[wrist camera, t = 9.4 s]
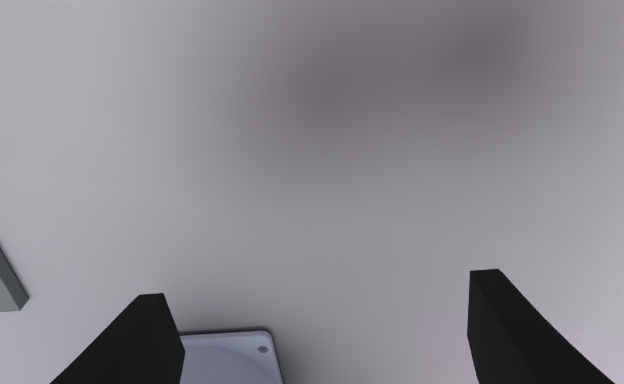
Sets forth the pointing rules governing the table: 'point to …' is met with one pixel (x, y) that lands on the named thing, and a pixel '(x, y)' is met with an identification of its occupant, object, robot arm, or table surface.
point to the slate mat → (10, 289)
